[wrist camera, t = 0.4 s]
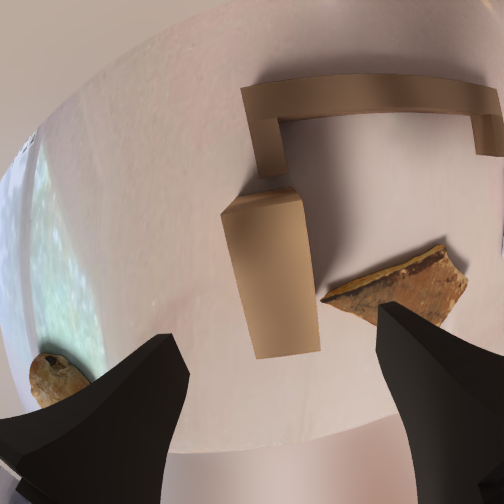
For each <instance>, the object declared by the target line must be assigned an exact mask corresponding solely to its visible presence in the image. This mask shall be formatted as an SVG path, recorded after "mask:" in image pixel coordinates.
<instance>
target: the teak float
mask: <svg viewBox="0 0 504 504" xmlns="http://www.w3.org/2000/svg"><path fill="white" fill-rule="evenodd" d="M221 220H222V224H223V228H224V232H225V237H226V241H227V245H228V249H229V253H230V257H231V262H232V266H233V270H234V274H235V278H236V282H237V286H238V290H239V294H240V298H241V302H242V306H243V310H244V314H245V317H246V321H247V325H248V329H249V333H250V337H251V341H252V344H253V348H254V352H255V356H256V359H264V358H273V357H281V356H289V355H296V354H303V353H310V352H316V351H321V350H320V337H319V326H318V316H317V306H316V296H315V287H314V279H313V271H312V263H311V255H310V248H309V241H308V234H307V227H306V221H305V214H304V208H303V202H302V199H301V197H300V196H299V194H298V193H297V191H296V190H295V189H294V187H288V188H282V189H276V190H271V191H265V192H260V193H254V194H249V195H244V196H239V197H236V198H235V200H234V201H233V202H232V203H231V204H230V205H229V206H228V207H227V208H226V209H225V210H224V211H223V212H222V214H221Z"/></svg>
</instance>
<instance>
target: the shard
mask: <svg viewBox="0 0 504 504" xmlns="http://www.w3.org/2000/svg"><path fill="white" fill-rule="evenodd" d="M467 285H468V279H467V278H466V277H465V276H464V275H463V274H462V273H461V272H460V271H459V270H458V269H456V267H455V266H454V265H453V263H452V262H451V260H450V258H449V257H448V256H447V252H446V247H445V246H444V245H443V244H441V245H437V246H435V247H433V248H432V249H431V250H430V251H428V252H426V253H425V254H423V255H421V256H418V257H414V258H413V259H412V260H410V261H409V262H407V263H404V264H401V265H399V266H395V267H390V268H387V269H385V270H382V271H379V272H377V273H374V274H370V275H367V276H365V277H363V278H359V279H356V280H353V281H351V282H349V283H347V284H345V285H343V286H342V287H340V288H337V289H334V290H333V291H331V292H330V293H328V294H327V295H326V296H325V297H324V298H322V299H321V300H320V302H322V303H326V304H328V305H331V306H333V307H335V308H337V309H339V310H341V311H345V312H348V313H352V314H353V315H356V316H358V317H360V318H362V319H364V320H366V321H368V322H369V323H371V324H373V325H375V326H377V319H378V304H383V303H387V302H391V301H395V302H397V303H399V304H401V305H403V306H404V307H406V308H408V309H409V310H411V311H413V312H414V313H416V314H418V315H419V316H421V317H423V318H424V319H426V320H428V321H429V322H431V323H433V324H434V325H436V326H438V327H440V325H441V323H442V322H443V321H444V320H445V319H446V318H447V316H448V314H449V312H450V311H451V310H452V308H453V307H454V305H455V304H456V302H457V301H458V299H459V298H460V296H461V295H462V294H463V292H464V291H465V289H466V287H467Z"/></svg>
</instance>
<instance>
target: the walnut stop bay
mask: <svg viewBox="0 0 504 504" xmlns="http://www.w3.org/2000/svg"><path fill="white" fill-rule="evenodd" d="M240 89H241V94H242V98H243V102H244V107H245V112H246V116H247V121H248V125H249V130H250V135H251V139H252V144H253V149H254V154H255V158H256V163H257V168H258V173H259V178H266V177H271V176H277V175H283V174H288V169H287V163H286V158H285V153H284V148H283V143H282V138H281V134H280V129H279V124H278V123H283V122H290V121H296V120H303V119H311V118H319V117H328V116H339V115H351V114H366V113H393V112H417V113H443V114H458V115H468V116H471V121H472V127H473V133H474V140H475V148H476V154H477V155H487V156H495V157H504V122H503V117H502V112H501V107H500V102H499V98H498V93H497V90H496V89H494V88H490V87H485V86H481V85H476V84H472V83H466V82H461V81H455V80H449V79H442V78H434V77H425V76H413V75H398V74H344V75H327V76H315V77H306V78H297V79H289V80H282V81H276V82H270V83H264V84H258V85H253V86H248V87H243V88H240Z"/></svg>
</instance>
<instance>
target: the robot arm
mask: <svg viewBox="0 0 504 504" xmlns="http://www.w3.org/2000/svg"><path fill="white" fill-rule="evenodd" d="M502 257H503V258H504V238H503V248H502ZM376 354H377V357H378V360H379V364H380V367H381V370H382V374H383V376H384V379H385V381H386V383H387V385H388V388H389V390H390V392H391V395H392V397H393V399H394V402H395V404H396V406H397V409H398V411H399V414H400V416H401V419H402V421H403V424H404V427H405V430H406V433H407V437H408V441H409V445H410V449H411V454H412V460H413V465H414V470H415V478H416V486H417V496H418V504H504V356H501V355H498V354H495V353H492V352H490V351H487V350H485V349H482V348H480V347H477V346H475V345H473V344H470V343H468V342H466V341H464V340H462V339H460V338H458V337H456V336H454V335H452V334H450V333H448V332H447V331H445V330H443V329H441V328H439V327H438V326H436V325H434V324H433V323H431V322H429V321H428V320H426V319H424V318H423V317H421V316H419V315H418V314H416V313H414V312H413V311H411V310H409V309H408V308H406V307H404V306H403V305H401V304H399V303H397V302H395V301H391V302H387V303H383V304H378V319H377V338H376ZM189 377H190V373H189V371H188V368H187V366H186V364H185V362H184V360H183V358H182V355H181V353H180V351H179V349H178V346H177V344H176V342H175V340H174V337H173V335H172V333H170V334H157V335H156V336H154V337H153V338H151V339H150V340H148V341H147V342H146V343H144V344H143V345H142V346H140V347H139V348H138V349H137V350H135V351H134V352H133V353H132V354H130V355H129V356H128V357H126V358H125V359H124V360H123V361H121V362H120V363H119V364H118V365H116V366H115V367H114V368H112V369H111V370H109V371H108V372H107V373H105V374H104V375H103V376H101V377H100V378H98V379H97V380H96V381H94V382H93V383H91V384H90V385H88V386H86V387H85V388H83V389H82V390H80V391H78V392H76V393H75V394H73V395H71V396H69V397H67V398H65V399H63V400H61V401H59V402H57V403H54V404H52V405H50V406H48V407H45V408H42V409H40V410H37V411H34V412H31V413H28V414H24V415H20V416H16V417H11V418H6V419H0V459H1V460H2V461H3V462H4V463H6V464H7V465H8V466H9V467H10V468H11V469H12V470H13V471H15V472H16V473H17V474H18V475H19V476H21V477H22V478H21V480H20V481H19V480H17V479H16V478H15V477H14V476H12V475H11V474H10V473H9V472H8V471H7V470H5V469H4V468H3V467H2V466H0V504H160V499H161V498H160V497H161V488H162V481H163V473H164V467H165V463H166V457H167V453H168V449H169V445H170V442H171V439H172V436H173V433H174V430H175V428H176V425H177V422H178V419H179V416H180V413H181V410H182V407H183V404H184V401H185V398H186V394H187V389H188V383H189Z"/></svg>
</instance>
